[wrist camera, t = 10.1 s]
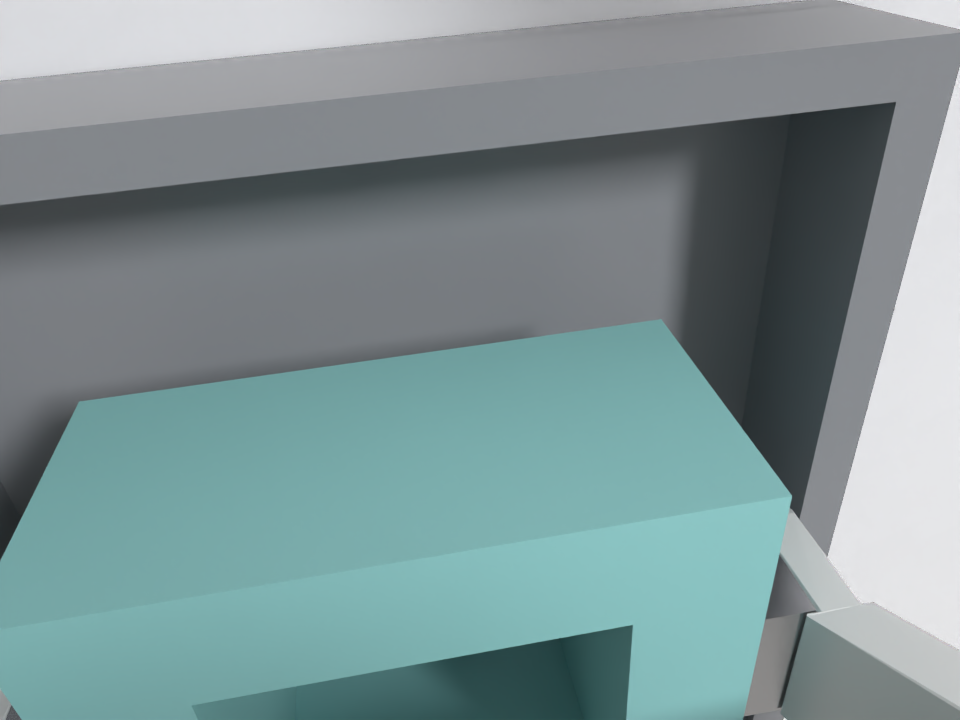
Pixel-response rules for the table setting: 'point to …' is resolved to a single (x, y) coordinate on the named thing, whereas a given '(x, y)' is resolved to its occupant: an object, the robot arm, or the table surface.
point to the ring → (402, 544)
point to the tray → (479, 215)
